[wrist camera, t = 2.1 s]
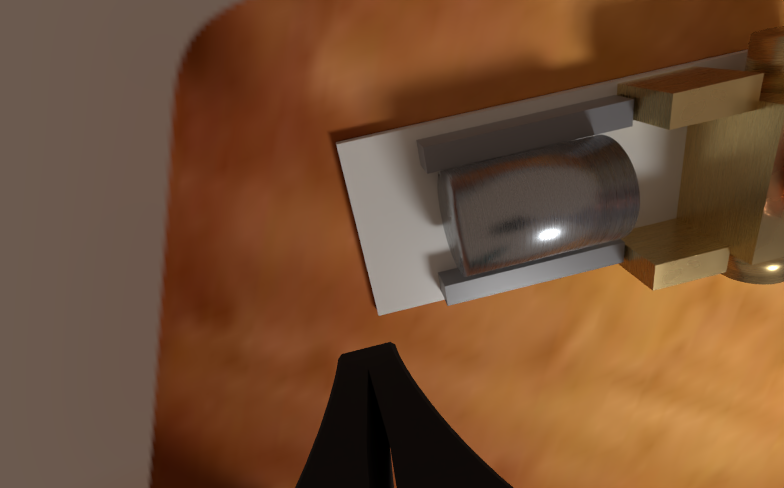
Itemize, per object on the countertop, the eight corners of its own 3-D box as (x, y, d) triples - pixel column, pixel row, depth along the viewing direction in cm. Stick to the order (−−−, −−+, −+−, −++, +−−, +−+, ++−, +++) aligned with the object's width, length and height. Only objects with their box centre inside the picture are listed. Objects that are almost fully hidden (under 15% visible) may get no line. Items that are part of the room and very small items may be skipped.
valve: (760, 235, 21) (885, 293, 17) (608, 273, 21) (693, 343, 16) (808, 16, 17) (997, 11, 12) (618, 59, 17) (738, 70, 12)
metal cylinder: (586, 233, 19) (647, 245, 15) (451, 265, 19) (477, 287, 15) (571, 140, 18) (630, 128, 14) (431, 172, 18) (453, 169, 14)
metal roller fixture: (757, 216, 21) (789, 230, 20) (377, 310, 20) (382, 331, 19) (796, 38, 18) (838, 38, 16) (335, 142, 17) (337, 152, 15)
